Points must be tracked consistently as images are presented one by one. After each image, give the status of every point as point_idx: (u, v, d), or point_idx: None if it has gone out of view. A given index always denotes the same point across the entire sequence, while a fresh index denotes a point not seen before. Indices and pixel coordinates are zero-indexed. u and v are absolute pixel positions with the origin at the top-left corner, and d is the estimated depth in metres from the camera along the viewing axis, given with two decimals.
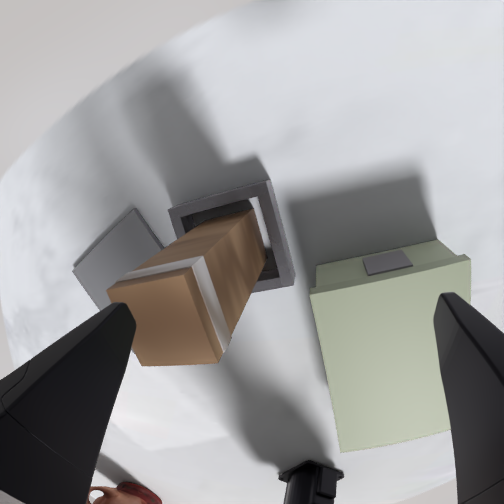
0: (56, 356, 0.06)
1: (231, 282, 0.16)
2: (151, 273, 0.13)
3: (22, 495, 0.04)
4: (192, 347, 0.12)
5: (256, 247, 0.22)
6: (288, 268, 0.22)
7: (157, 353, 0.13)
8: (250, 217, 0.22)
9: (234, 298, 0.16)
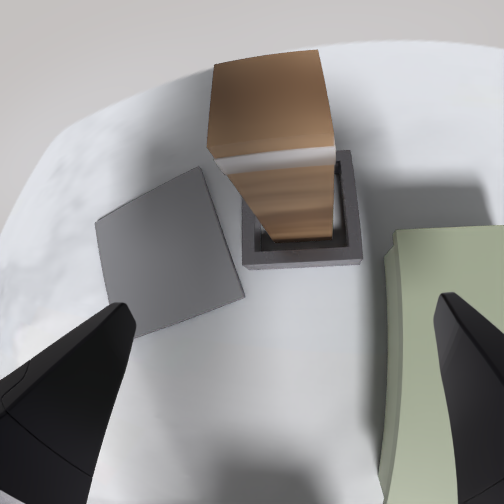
0: (56, 356, 0.06)
1: None
2: None
3: (22, 495, 0.04)
4: (303, 112, 0.09)
5: None
6: (360, 237, 0.19)
7: (245, 123, 0.09)
8: None
9: None
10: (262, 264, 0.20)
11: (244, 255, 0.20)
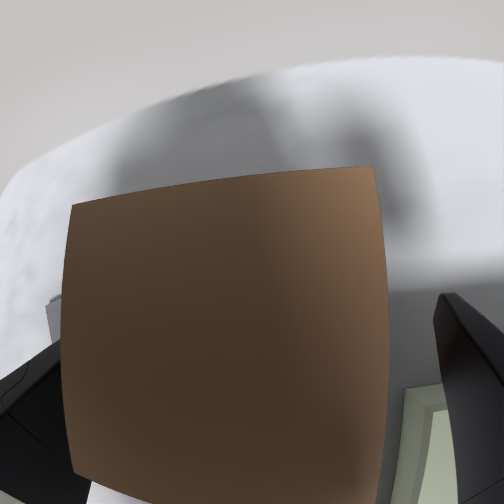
0: (56, 356, 0.06)
1: None
2: None
3: (22, 495, 0.04)
4: (299, 469, 0.03)
5: None
6: None
7: (138, 458, 0.03)
8: None
9: None
10: None
11: None
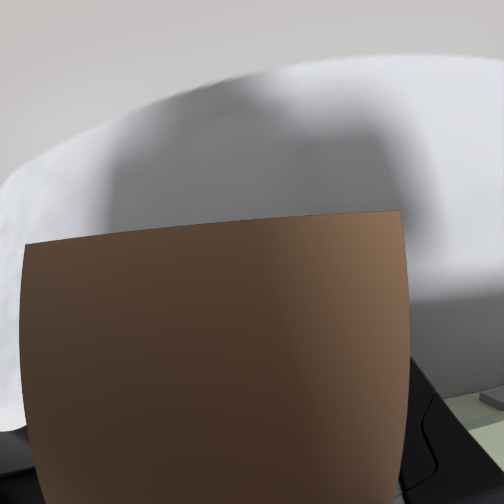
0: None
1: None
2: None
3: None
4: None
5: None
6: None
7: None
8: None
9: None
10: None
11: None
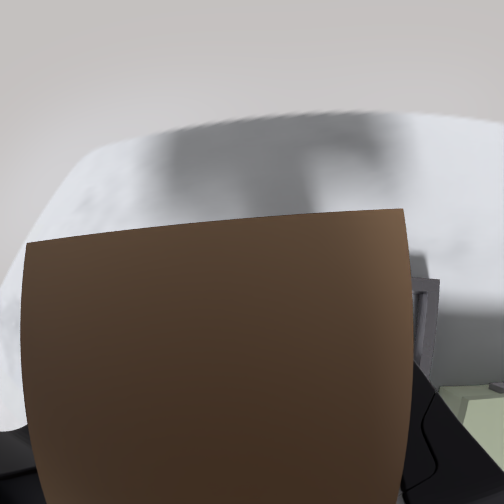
0: None
1: None
2: None
3: None
4: None
5: None
6: None
7: None
8: None
9: None
10: None
11: None
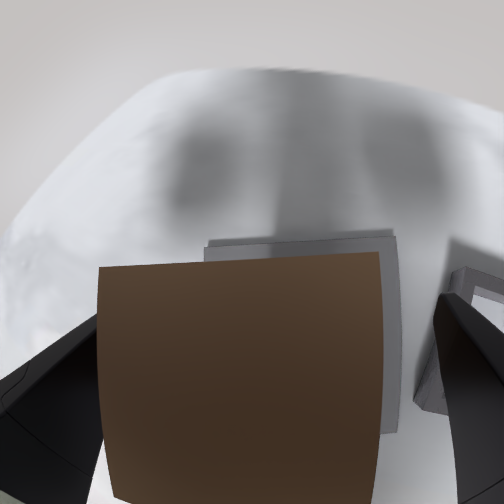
0: (56, 356, 0.06)
1: None
2: None
3: (22, 495, 0.04)
4: (308, 492, 0.03)
5: None
6: None
7: (176, 486, 0.03)
8: None
9: None
10: None
11: (429, 399, 0.12)
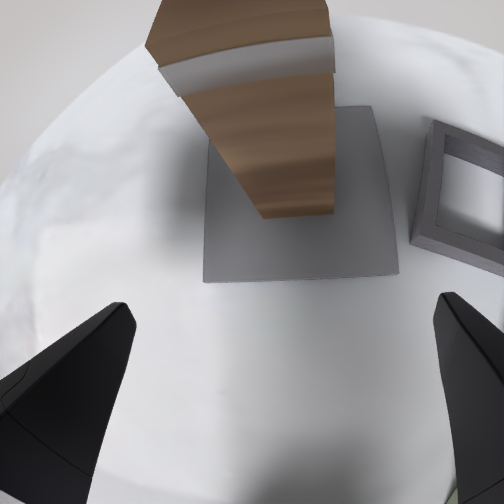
0: (56, 356, 0.06)
1: None
2: None
3: (22, 495, 0.04)
4: None
5: None
6: None
7: (200, 13, 0.05)
8: None
9: None
10: (439, 242, 0.14)
11: (423, 224, 0.14)
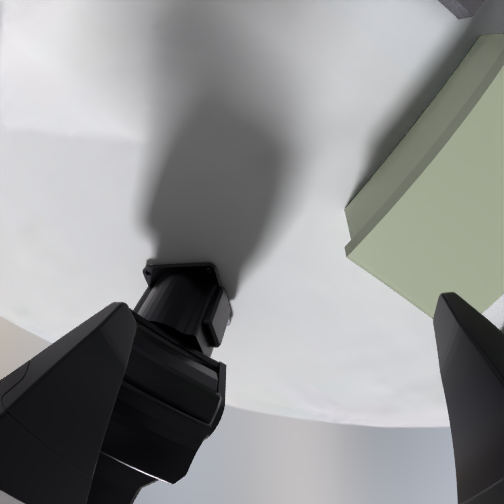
0: (56, 356, 0.06)
1: None
2: None
3: (22, 495, 0.04)
4: None
5: None
6: (480, 3, 0.09)
7: None
8: None
9: None
10: None
11: None
